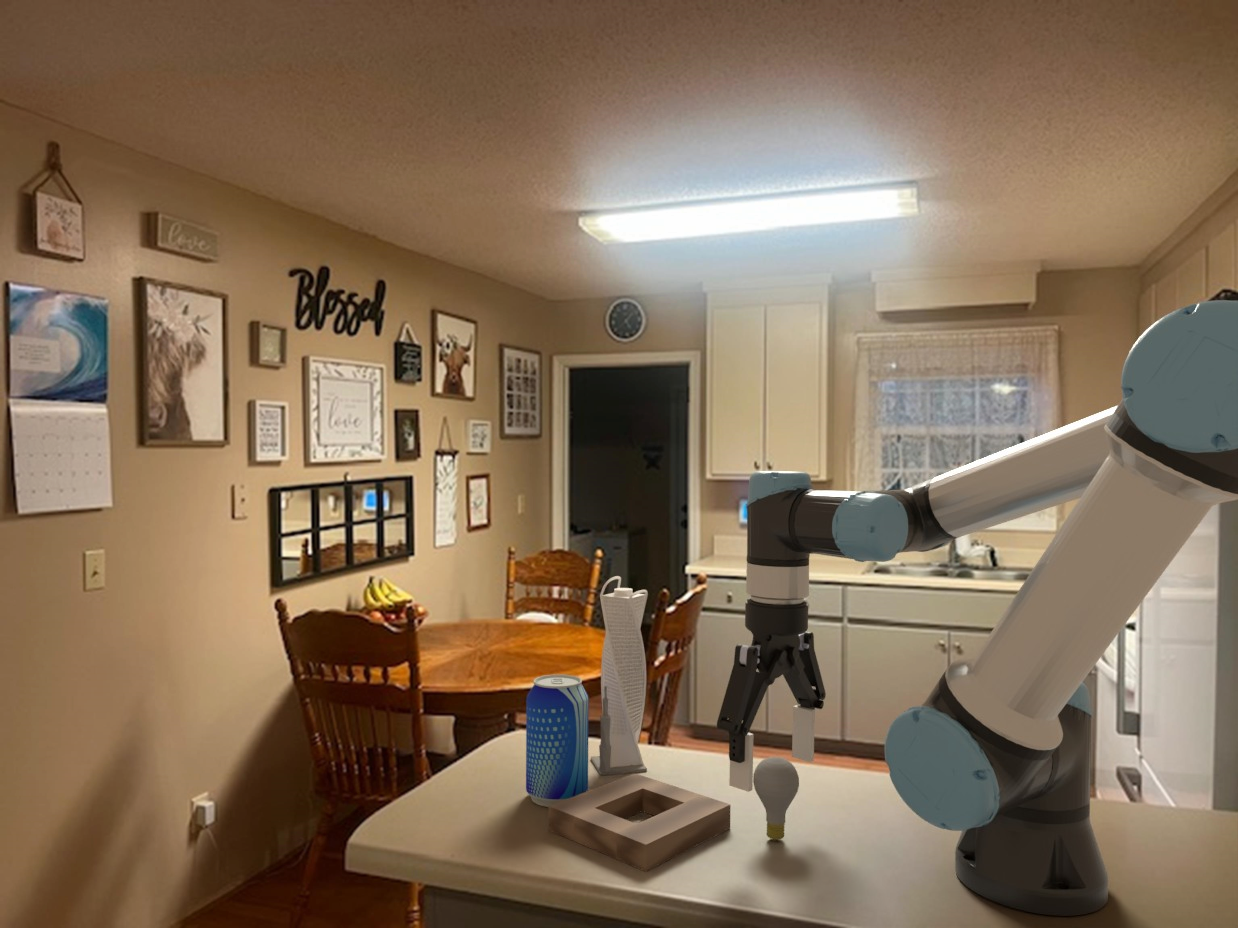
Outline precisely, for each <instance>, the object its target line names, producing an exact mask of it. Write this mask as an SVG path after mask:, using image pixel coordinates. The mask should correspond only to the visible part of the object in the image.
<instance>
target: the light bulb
mask: <svg viewBox="0 0 1238 928" xmlns="http://www.w3.org/2000/svg"><path fill="white" fill-rule="evenodd" d="M753 787H754V788H753V789H754V790H755V792H756V795H757V796H758V798H759V800H760V802H761V804H762V805H763V807H764V810H765V816H766V817H765V818H766V820H765V822H766V837H768V838H770V839H771V840H772V841H773V842H778V841H780V840H782V839H784V838H785V825H786V824H785V823H786V814H787V811H788V808H789V807H790V805H791V804H792V803H793V800H794V799H795V798H796V795H797V794H798V791H799V787H800V777H799V774H798V770H797V769H796V767H795V766H794V765H793V763H792V762H790V761H789V760H788V759H786V758H784V757H780V756H769V757H766V758H764V759H762V760H761V761H760V762H759V763H758V764H757V766H756V767H755V769H754V771H753Z"/></svg>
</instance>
